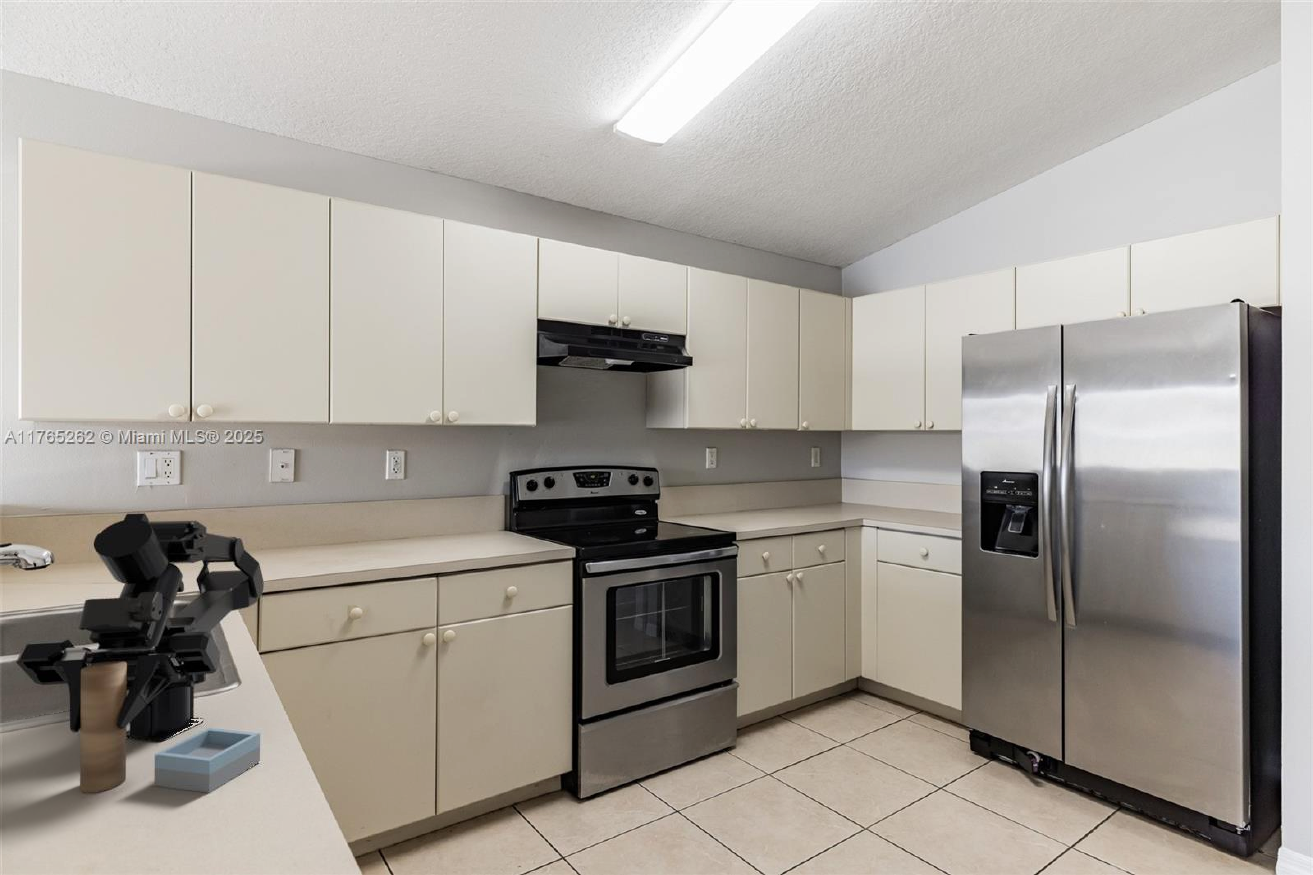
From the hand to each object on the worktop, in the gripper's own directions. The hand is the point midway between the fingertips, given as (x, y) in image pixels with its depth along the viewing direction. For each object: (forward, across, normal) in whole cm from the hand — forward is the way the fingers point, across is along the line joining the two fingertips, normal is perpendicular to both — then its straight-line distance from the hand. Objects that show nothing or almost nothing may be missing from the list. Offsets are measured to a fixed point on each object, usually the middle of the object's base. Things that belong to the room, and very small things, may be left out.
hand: (96, 729), depth 76 cm
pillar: (+4, 0, +6) cm, 7 cm away
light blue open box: (+4, +10, +6) cm, 12 cm away
